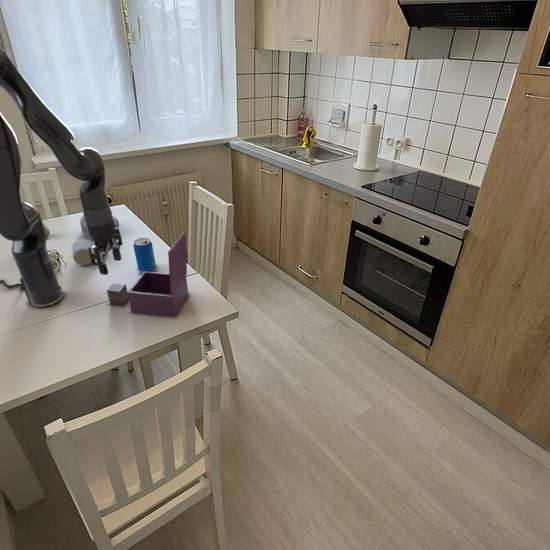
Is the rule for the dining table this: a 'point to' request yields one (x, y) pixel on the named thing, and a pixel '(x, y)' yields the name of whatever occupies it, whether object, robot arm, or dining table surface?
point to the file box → (156, 295)
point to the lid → (177, 263)
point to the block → (117, 294)
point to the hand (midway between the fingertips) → (111, 266)
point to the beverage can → (144, 255)
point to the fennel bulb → (44, 226)
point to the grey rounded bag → (84, 226)
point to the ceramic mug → (82, 252)
